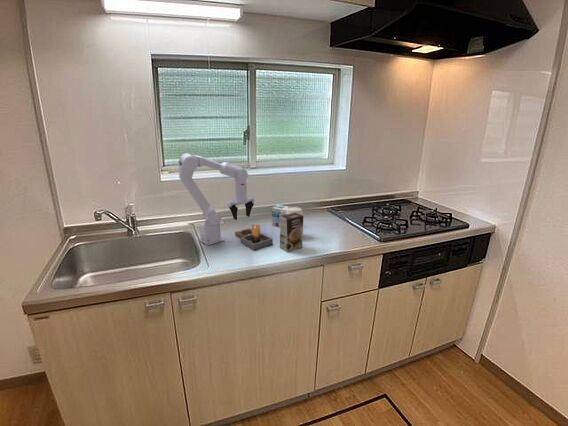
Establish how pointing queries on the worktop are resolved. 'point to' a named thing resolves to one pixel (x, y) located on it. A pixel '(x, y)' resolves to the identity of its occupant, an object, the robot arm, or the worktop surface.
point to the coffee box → (291, 231)
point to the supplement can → (294, 210)
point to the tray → (263, 243)
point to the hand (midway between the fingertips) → (241, 217)
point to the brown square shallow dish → (243, 232)
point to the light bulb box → (278, 214)
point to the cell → (255, 233)
